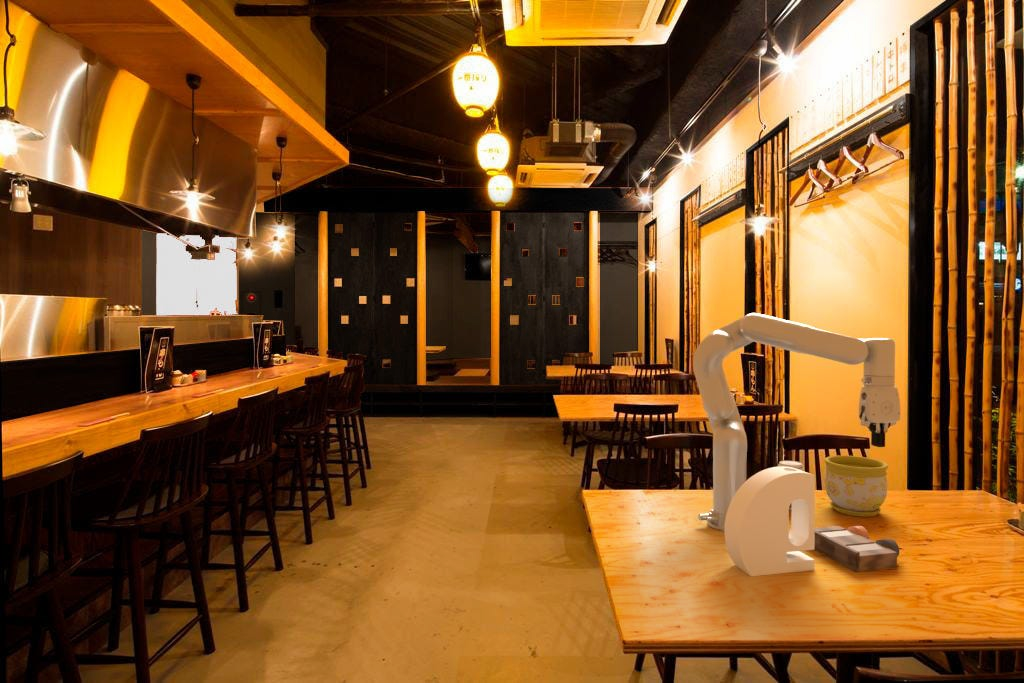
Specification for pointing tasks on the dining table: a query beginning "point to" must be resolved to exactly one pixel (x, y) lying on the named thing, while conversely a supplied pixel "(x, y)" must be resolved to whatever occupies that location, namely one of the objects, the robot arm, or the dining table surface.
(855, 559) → the brown wooden tray
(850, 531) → the rust knob
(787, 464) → the supplement can
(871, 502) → the flowerpot
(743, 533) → the bracket
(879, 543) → the white and grey bar
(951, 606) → the dining table surface
